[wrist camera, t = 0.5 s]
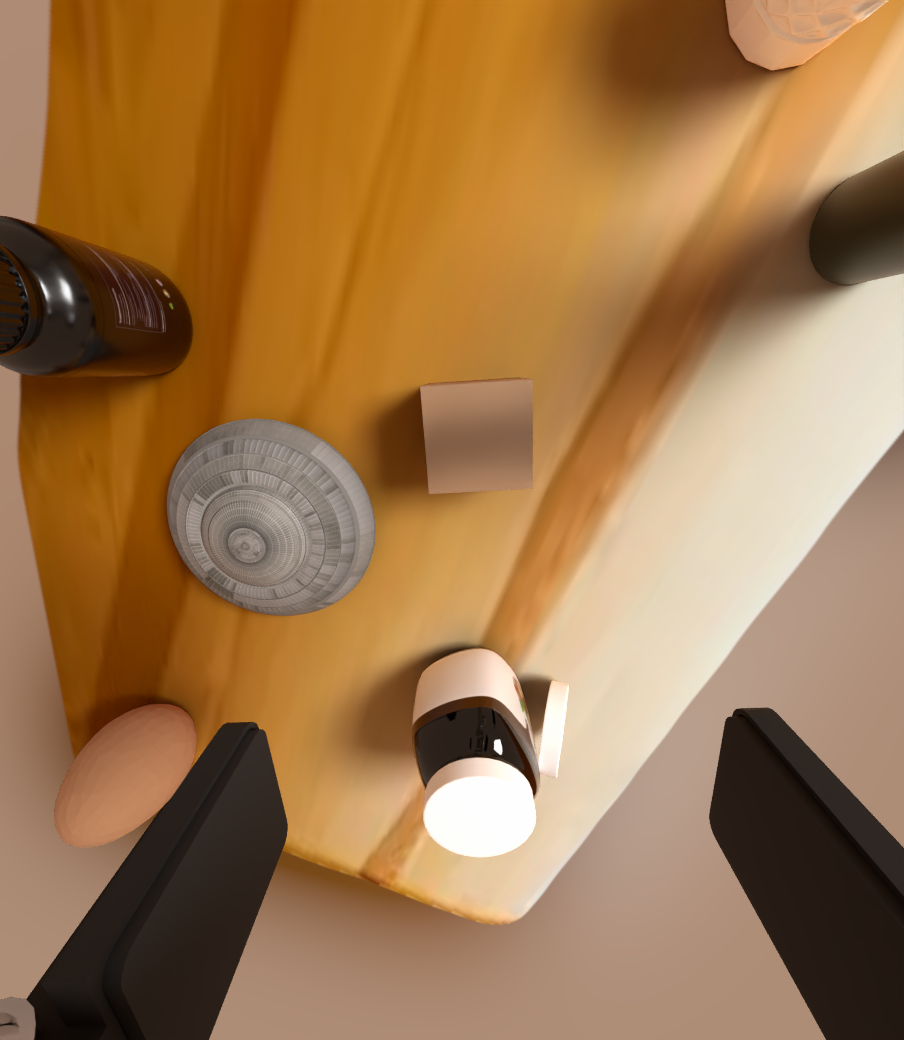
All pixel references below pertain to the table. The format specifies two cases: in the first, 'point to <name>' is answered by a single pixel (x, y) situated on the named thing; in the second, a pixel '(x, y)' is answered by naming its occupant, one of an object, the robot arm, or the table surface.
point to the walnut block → (478, 435)
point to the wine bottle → (862, 226)
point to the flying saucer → (270, 517)
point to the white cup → (791, 27)
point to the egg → (125, 774)
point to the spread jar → (481, 752)
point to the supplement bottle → (84, 308)
